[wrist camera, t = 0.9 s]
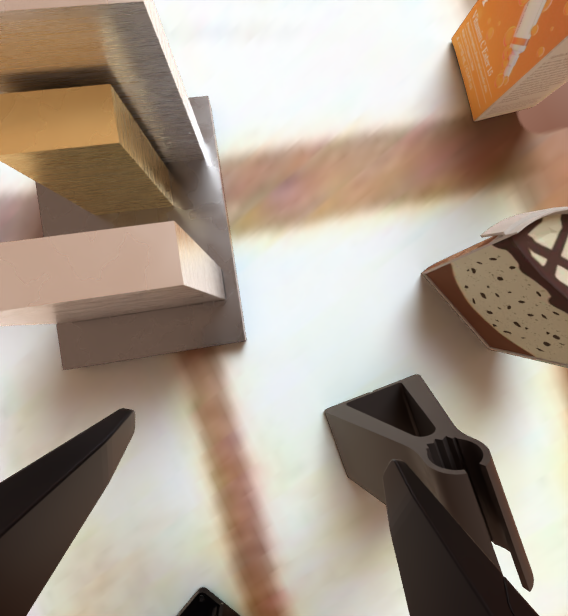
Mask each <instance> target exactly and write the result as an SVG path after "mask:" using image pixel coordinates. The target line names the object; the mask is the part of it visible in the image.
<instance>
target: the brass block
mask: <svg viewBox="0 0 568 616" xmlns="http://www.w3.org/2000/svg"><path fill="white" fill-rule="evenodd" d="M0 161H1V162H3V163H5V164H7V165H8V166H10V167H12V168H14V169H15V170H17V171H19V172H21V173H22V174H24V175H26V176H27V177H29V178H31V179H33V180H34V181H36V182H38V183H40V184H41V185H43V186H45V187H47V188H48V189H50V190H52V191H54V192H55V193H57V194H59V195H61V196H62V197H64V198H66V199H67V200H69V201H71V202H73V203H74V204H76V205H78V206H80V207H81V208H83V209H85V210H87V211H88V212H90V213H92V214H94V215H103V214H111V213H119V212H127V211H135V210H143V209H151V208H160V207H168V206H173V200H172V194H171V187H170V181H169V174H168V168H167V167H166V165H165V164H164V162H163V161H162V159H161V158H160V157H159V155H158V154H157V152H156V151H155V149H154V148H153V146H152V145H151V143H150V142H149V140H148V139H147V137H146V136H145V134H144V133H143V131H142V130H141V128H140V127H139V125H138V124H137V123H136V121H135V120H134V118H133V117H132V115H131V114H130V112H129V111H128V109H127V108H126V106H125V105H124V103H123V102H122V100H121V99H120V97H119V96H118V94H117V93H116V91H115V90H114V89H113V87H112V86H111V84H104V85H93V86H82V87H71V88H60V89H49V90H38V91H27V92H16V93H5V94H0Z"/></svg>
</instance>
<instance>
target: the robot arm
mask: <svg viewBox="0 0 568 616" xmlns="http://www.w3.org/2000/svg"><path fill="white" fill-rule="evenodd" d="M134 430H135V412H134V410H131V409H125V408H122V409H119V410H117V411H116V412H114V413H113V414H111V415H109V416H108V417H106V418H104V419H103V420H101V421H100V422H98V423H96V424H95V425H93V426H91V427H90V428H88V429H87V430H85V431H83V432H82V433H80V434H78V435H77V436H75V437H74V438H72V439H70V440H69V441H67V442H65V443H64V444H62V445H61V446H59V447H57V448H56V449H54V450H53V451H51V452H49V453H48V454H46V455H44V456H43V457H41V458H40V459H38V460H36V461H35V462H33V463H31V464H30V465H28V466H27V467H25V468H23V469H22V470H20V471H18V472H17V473H15V474H14V475H12V476H10V477H9V478H7V479H5V480H4V481H2V482H1V483H0V616H26V615H27V614H28V612H29V611H30V609H31V607H32V606H33V604H34V603H35V601H36V599H37V598H38V596H39V594H40V593H41V591H42V590H43V588H44V586H45V585H46V583H47V582H48V580H49V578H50V577H51V575H52V574H53V572H54V570H55V569H56V567H57V566H58V564H59V562H60V561H61V559H62V558H63V556H64V554H65V553H66V551H67V550H68V548H69V546H70V545H71V543H72V542H73V540H74V538H75V537H76V535H77V533H78V532H79V530H80V529H81V527H82V525H83V524H84V522H85V521H86V519H87V517H88V516H89V514H90V513H91V511H92V509H93V508H94V506H95V505H96V503H97V501H98V500H99V498H100V497H101V495H102V493H103V492H104V490H105V488H106V487H107V485H108V483H109V482H110V480H111V478H112V476H113V474H114V472H115V470H116V468H117V466H118V464H119V462H120V460H121V458H122V456H123V454H124V452H125V450H126V448H127V446H128V444H129V442H130V440H131V438H132V436H133V433H134ZM383 486H384V493H385V500H386V507H387V514H388V521H389V527H390V532H391V537H392V541H393V546H394V550H395V554H396V558H397V563H398V567H399V571H400V575H401V580H402V584H403V588H404V592H405V597H406V601H407V605H408V610H409V614H410V616H539V615H538V614H537V613H536V612H535V610H534V609H533V608H532V607H531V606H530V605H529V604H528V603H527V601H526V600H525V599H524V598H523V597H522V596H521V595H520V594H519V592H518V591H517V590H516V589H515V588H514V587H513V586H512V584H511V583H510V582H509V581H508V580H507V579H506V578H505V577H503V575H502V573H501V572H500V571H499V570H498V568H497V567H496V566H495V565H494V564H493V563H492V561H491V560H490V559H489V558H488V557H487V556H486V555H485V553H484V552H483V551H482V550H481V549H480V548H479V546H478V545H477V544H476V543H475V542H474V541H473V540H472V538H471V537H470V536H469V535H468V534H467V533H466V531H465V530H464V529H463V528H462V527H461V526H460V525H459V523H458V522H457V521H456V520H455V519H454V518H453V516H452V515H451V514H450V513H449V512H448V511H447V510H446V508H445V507H444V506H443V505H442V504H441V503H440V502H439V500H438V499H437V498H436V497H435V496H434V495H433V493H432V492H431V491H430V490H429V489H428V488H427V487H426V485H425V484H424V483H423V482H422V481H421V480H420V478H419V477H418V476H417V475H416V474H415V473H414V472H413V470H412V469H411V468H410V467H409V466H408V465H407V463H406V462H404V461H402V460H398V459H392V460H391V461H390V462H389V464H388V466H387V468H386V470H385V471H384V474H383ZM202 595H203V596H204V597H201V596H202ZM177 616H240V615H239V614H237V613H236V612H235V611H234V610H232V609H231V608H230V607H229V606H228V605H226V604H225V603H224V602H223V601H221V600H220V599H219V598H218V597H216V596H215V595H214V594H213V593H212V592H210V591H209V590H208V589H207V588H203V587H202V588H200V589H199V590H198V591H197V592H196V593H195V594H194V595H193V597H192V598H191V599H190V600H189V601H188V603H187V604H186V605H185V606H184V607H183V609H182V610H181V611H180V612H179V613H178V615H177Z"/></svg>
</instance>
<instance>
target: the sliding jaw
mask: <svg viewBox="0 0 568 616" xmlns="http://www.w3.org/2000/svg"><path fill="white" fill-rule="evenodd" d="M225 299H226V298H225V292H224V285H223V278H222V272H221V268H220V267H219V266H218V265H217V264H216V263H215V262H214V261H213V260H212V259H211V258H210V257H209V256H208V255H207V254H206V253H205V252H204V250H203V249H202V248H201V247H200V246H199V245H198V244H197V243H196V242H195V241H194V240H193V239H192V238H191V237H190V236H189V235H188V234H187V233H186V232H185V231H184V230H183V229H182V228H181V227H180V226H179V225H178V224H177V223H176V222H175V221H168V222H160V223H152V224H144V225H136V226H129V227H121V228H113V229H105V230H97V231H89V232H81V233H73V234H66V235H58V236H50V237H42V238H34V239H26V240H18V241H10V242H2V243H0V326H16V325H37V324H57V323H71V322H77V321H84V320H91V319H97V318H104V317H111V316H118V315H124V314H131V313H138V312H145V311H151V310H158V309H165V308H171V307H178V306H185V305H192V304H198V303H205V302H212V301H219V300H225Z"/></svg>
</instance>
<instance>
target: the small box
mask: <svg viewBox="0 0 568 616" xmlns="http://www.w3.org/2000/svg"><path fill="white" fill-rule="evenodd" d="M451 40H452V43H453V46H454V49H455V52H456V56H457V59H458V63H459V66H460V70H461V74H462V77H463V81H464V84H465V88H466V92H467V96H468V100H469V103H470V107H471V111H472V117H473V120H474V121H479V120H483V119H487V118H491V117H495V116H499V115H503V114H508V113H512V112H516V111H520V110H524V109H528V108H532V107H534V106H535V105H537V104H538V103H540V102H541V101H542V100H544V99H545V98H546V97H548V96H549V95H550V94H551V93H553V92H554V91H555V90H557V89H558V88H559V87H561V86H562V85H563V84H565V83H566V82H567V81H568V0H478V1H477V2H476V4H475V5H474V6H473V8H472V9H471V11H470V12H469V14H468V15H467V17H466V18H465V20H464V21H463V22H462V24H461V25H460V27H459V28H458V30H457V31H456V33H455V34H454V35H453V37H452V39H451Z"/></svg>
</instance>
